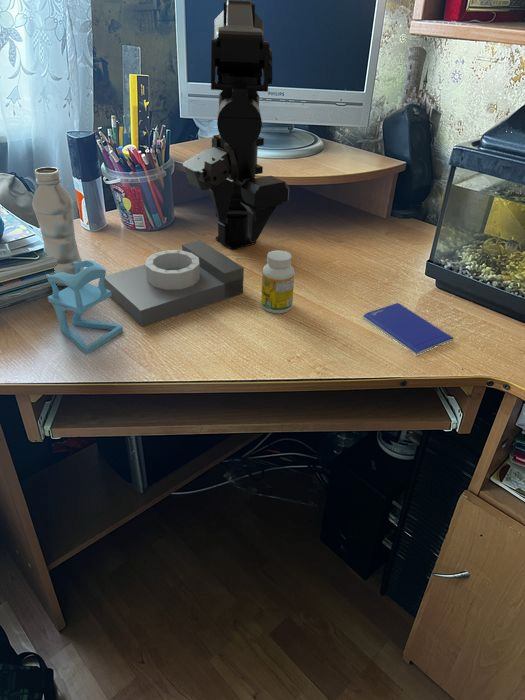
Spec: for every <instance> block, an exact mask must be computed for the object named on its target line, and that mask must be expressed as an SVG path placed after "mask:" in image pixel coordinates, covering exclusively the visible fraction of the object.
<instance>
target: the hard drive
mask: <svg viewBox="0 0 525 700" xmlns="http://www.w3.org/2000/svg"><path fill="white" fill-rule="evenodd" d="M362 320H364V321H365V322H366V321H367V323H368V324H369V323H370V324H369V325H371V326H372V325H373V326H372V327H374V326H375V327H376V328H375V327H374V328H375V329H377V330H378V329H379V330H380V331H379V330H378V331H379V332H381V331H382V332H383V334H384V333H385V334H386V335H385V334H384V335H385V336H387V335H388V336H389V337H388V336H387V337H388V338H390V337H391V338H392V339H394V340H395V341H397V342H398V343H399V344H398V343H397V342H396V343H397V344H398V345H400V344H401V345H402V346H401V345H400V346H401V347H403V346H404V347H406V348H407V349H409V350H410V351H411V352H413V353H415V354H416V355H417V354H420V353H423V352H425V351H427V350H430V349H432V348H434V347H435V346H440V345H442V344H444V343H447V342H450V341H452V342H453V341H454V337H453V336H451V335H450V334H448V333H447V332H445V331H443V330H441V329H440V328H439V327H437V326H435V324H432V323H431V322H430V321H427V320H426V319H425V318H423V317H421V316H420V315H418V314H417V313H416V312H413V311H412V310H410V309H409V308H407V307H406V306H405V305H402V304H401V303H399V302H396V303H394V304H393V303H392V304H390V305H387V306H384V307H381V308H378V309H374V310H371V311H368V312H366V313H364V314H363V317H362ZM382 332H381V333H382ZM391 338H390V339H391ZM392 339H391V340H392ZM394 340H393V341H394ZM395 341H394V342H395ZM450 343H451V342H450ZM404 347H403V348H404ZM440 347H441V346H440ZM407 349H406V350H407ZM410 351H409V352H410ZM430 351H431V350H430ZM411 352H410V353H411ZM413 353H412V354H413ZM425 353H426V352H425ZM423 354H424V353H423ZM420 355H421V354H420Z"/></svg>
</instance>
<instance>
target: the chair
mask: <svg viewBox="0 0 525 700" xmlns="http://www.w3.org/2000/svg"><path fill="white" fill-rule="evenodd" d="M73 264H74V267H75V271H76V274H75V275H71V274H67V273H64V272H60V273H56V274H54V275H49V274H46V275H45V277H46V280H47V281H48V283H49V285H50V286H51V289H52V294H50V295H48V296H47V301H48V303H50V304H51V305H52V306H53V308H54V311H55V313H56V317H57V320H58V324H59V329H60V330H59V331H60V332H61V333H63V334H64V335H65V336H67V337H68V338H69V340H71V342H72V343H73V344H75V345H76V346H77V348H79V349H80V350H81V351H82V352H84V354H90V353H91V352H94V351H95V350H96V349H98V348H100V347H101V346H103V345H104V344H105V343H107V342H109V341H110V340H112V339H113V338H115V337H116V336H118V335H119V334H121V333H122V332H123V330H124V329H123V325H122V324H118V323H115V322H107V321H100V320H99V321H98V320H93V319H86V318H82V316H83V313H85V312H87V311H88V310H90V309H91V308H92V307H94V306H95V305H97V304H100V303H101V302H103V301H104V302H105V301H106V300H107V299H109V298H111V296H112V293H111V291H110V290H107V289H105V287H104V279H105V275H106V272H107V270H106V269H105V268H104V267H103V266H102V265H101V264H99V263H98V262H96V261H95V260H91V259H89V260H82V262H73ZM82 267H84V269H83V270H82V271H81V272H80V268H82ZM97 279H99V280H98V286H97V285H93V284H91V283H90V282H92V281H94V280H97ZM54 281H58V282H61V283H63V284H65V285H66V286H65V288H63V289H62V290H59V286H58V285H56V284H55V283H54ZM66 311H71V312H74V313H73V316H72V319H71V321H72V324H73V325H74V326H78V327H83V328H91V329H101V330H106V331H107V330H109V332H107V333H105V334H104V335H102V336H101V337H99V338H97V339H95V340H94V341H93V342H91V343H90V344H86V343H85V342H84V341H83V340H82V339H81V338H80V336H79V335H78V334H77V333H76V332H75V331H74V330H73V329H72V327H70V326H69V325H68V320H67V317H66Z"/></svg>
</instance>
